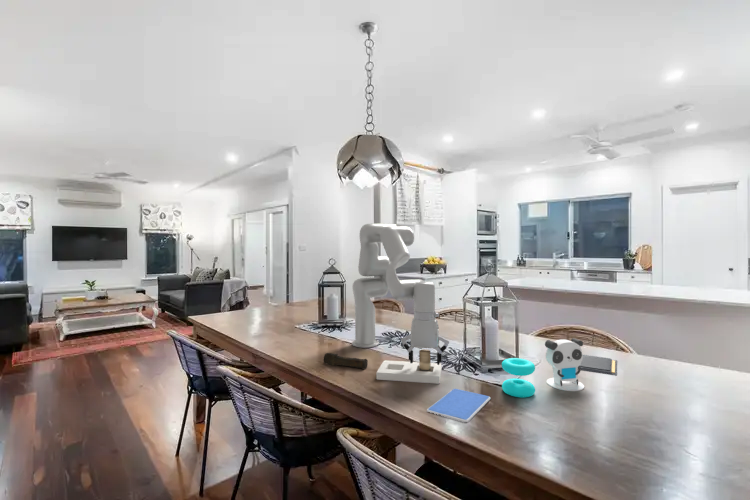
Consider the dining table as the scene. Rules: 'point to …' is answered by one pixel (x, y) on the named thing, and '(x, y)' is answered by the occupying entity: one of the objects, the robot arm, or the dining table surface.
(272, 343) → the dining table surface
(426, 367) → the oak peg
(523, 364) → the donuts
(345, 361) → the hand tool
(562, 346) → the panda figurine
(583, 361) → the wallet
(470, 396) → the tablet computer
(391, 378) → the hole board
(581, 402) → the dining table surface
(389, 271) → the robot arm
